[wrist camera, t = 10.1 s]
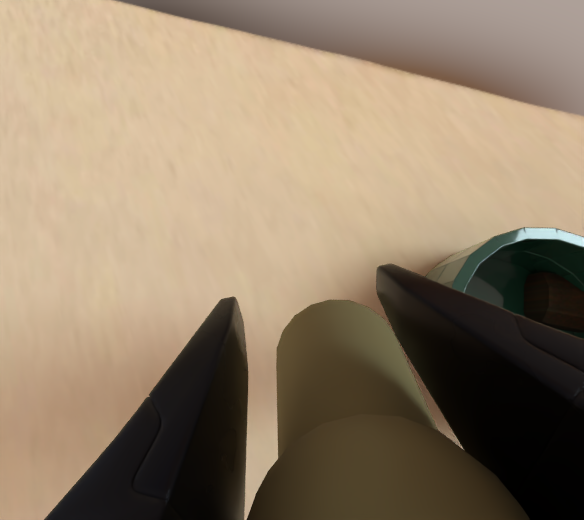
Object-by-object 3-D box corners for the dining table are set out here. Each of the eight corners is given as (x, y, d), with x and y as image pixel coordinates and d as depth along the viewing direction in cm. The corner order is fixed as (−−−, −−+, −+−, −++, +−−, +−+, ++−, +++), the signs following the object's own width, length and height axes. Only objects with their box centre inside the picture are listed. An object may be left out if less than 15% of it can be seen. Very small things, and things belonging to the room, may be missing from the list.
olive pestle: (287, 288, 14) (204, 457, 3) (412, 312, 14) (814, 593, 3) (266, 406, 15) (128, 915, 4) (387, 432, 14) (644, 1079, 3)
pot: (491, 466, 18) (568, 518, 13) (374, 311, 20) (402, 305, 15) (615, 354, 19) (725, 362, 14) (494, 221, 21) (554, 190, 17)
